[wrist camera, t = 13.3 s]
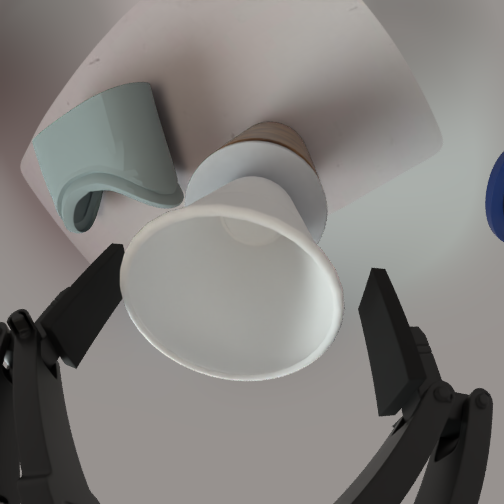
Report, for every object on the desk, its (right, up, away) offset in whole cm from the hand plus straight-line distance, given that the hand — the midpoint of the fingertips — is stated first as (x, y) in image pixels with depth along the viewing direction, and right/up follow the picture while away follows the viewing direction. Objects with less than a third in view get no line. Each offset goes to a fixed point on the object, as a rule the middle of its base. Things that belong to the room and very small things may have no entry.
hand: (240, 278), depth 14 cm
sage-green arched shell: (-21, +18, +28) cm, 40 cm away
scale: (+1, +5, +9) cm, 10 cm away
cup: (+1, +4, +7) cm, 8 cm away
